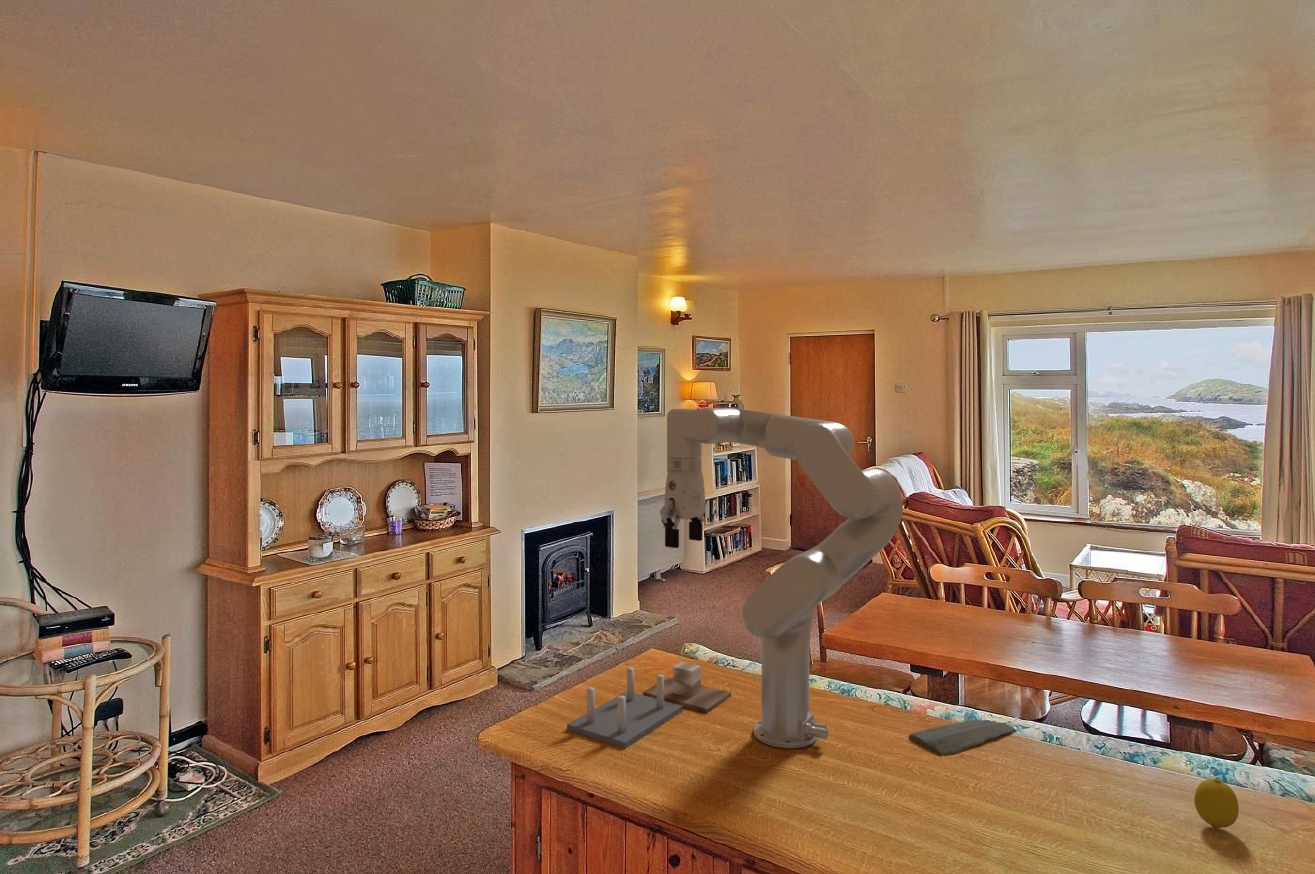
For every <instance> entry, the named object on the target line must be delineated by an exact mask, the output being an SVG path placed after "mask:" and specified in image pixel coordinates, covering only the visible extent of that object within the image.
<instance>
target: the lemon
mask: <svg viewBox="0 0 1315 874" xmlns="http://www.w3.org/2000/svg"><path fill="white" fill-rule="evenodd" d="M1193 799H1194V807H1195V809H1196V812H1197V814H1198V815H1199V817H1200V818H1201V819H1202V820H1203V821H1204V822H1205V823H1207V825H1210V826H1211V827H1212V828H1213V829H1215V830H1220V829H1221V828H1229V827H1231V826H1233V824H1235V823H1236V821H1237V819H1238V817H1239V812H1240V811H1239V810H1240V809H1239V808H1240V807H1239V802H1238V801H1239V800H1238V798H1237V795H1236V793H1235V790H1233V789H1232V788H1231V787H1230V786H1229V785H1228V784H1227V783H1225V782H1223V781H1221V779H1219V778H1213V779H1212V778H1210V779H1205V780H1203V781H1202V782H1200V783H1199V784H1198V785H1197V787H1196V790H1195V792H1194V797H1193Z"/></svg>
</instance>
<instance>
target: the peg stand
mask: <svg viewBox="0 0 1315 874" xmlns="http://www.w3.org/2000/svg"><path fill="white" fill-rule="evenodd" d="M664 680H665V675H664V674H657V675H656V684H657V699H655V698H651V697H648V696H644V695H643V694H640V693H636V692H635V668H634V667H627V668H626V691H625V692H623V693H621V694H620V695H617V696H616V697H614V698H612V699H610V700H608V701H607V702H605V703H602V704H601V705H599V706H597V707H595V706H596V705H595V704H596V702H595V700H596V699H595V690H596V689H595V687H593V686H591V687H587V688H586V713H584V714H583V715H581V716H578V718H576V719H574V720H572V721H569V722H568V723H567V724H566V730H567V731H569V732H572V733H576V734H579V735H582V736H585V737H589V738H592V739H594V740H597V741H599V742H600V741H601V742H604V743H607V744H610V745H613V746H617V747H619V748H623V749H627V748H628V747H630V746H632V745H633V744H635V743H636V742H637V741H640V740H641V739H643V738H644V737H645V736H647V735H648V734H650V733H652V732H653V731H655V730H656V729H658V728H659V727H661V726H662V725H664V724H665V723H667V722H668V721H670V720H671V719H673V718H674V717H673V716H675V715H676V714H678V713H679V712H681V713H682V712H683V711H684V710H683V708H684V707H683V706H682V705H678V704H674V703H670V702H667V701H664ZM679 714H680V713H679ZM679 714H678V715H679ZM676 716H677V715H676ZM676 716H675V717H676ZM672 717H673V718H672ZM670 718H671V719H670ZM669 719H670V720H669ZM667 720H668V721H667ZM666 721H667V722H666ZM663 723H664V724H663ZM655 728H656V729H655ZM654 729H655V730H654ZM651 731H652V732H651Z"/></svg>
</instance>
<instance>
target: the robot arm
mask: <svg viewBox="0 0 1315 874" xmlns="http://www.w3.org/2000/svg"><path fill="white" fill-rule="evenodd" d="M723 443H734V444H735V443H736V444H743V445H747V446H748V445H749V446H755V447H758V448H762V449H764V450H765V451H766V453H767V454H768V455H770V456H771V457H775V458H780V459H781V458H782V459H789V460H793V461H797V462H798V464H799V465H800V466H801V468H802V469H803V471H804V472H805V473H806V475H807V476H808V478H809V479H810V481H811V482H812V483H813V485H815V487H816V488H817V490H818V491H819V492H820V493H821V495H822V496H823V497H824V498H825V500H826V501H827V502H828V504H829V505H830V506H831V507H832V509H833V510H834V511H835V512H837V513H838V514H839V515H840V516H842V517H844V518H845V519H846V520H845V521H843V523H841V524H839V526H837V527H836V528H835V529H834V530H833V531H832V532H831V533H830V534H829V535H828V536H827V537H826V538H824V539H823V540H822V541H820V543H819V544H817V545H815V546H814V547H812V548H810V549H807V550H805V551H804V552H801V553H799V554H797V555H794V556H792V557H791V558H789V559H788V560H786V561H785V562H784V563H782V564H781V565H780V566H779V567H778V568H777V569H776V570H774V572H773V573H772V574H770V575H769V576H768V577H767V578H766V579H765V580H763V582H762V583H760V584H759V586H757V587H756V588H755V589H754V590H753V591H752V592H751V593H749V594H748V596H747V598H746V599H745V601H744V603H743V607H742V621H743V624H744V626H745V627H746V629H747V630H748V631H749V633H750V634H751V635H753V636H754V637H757V638H759V639H762V641H761V702H760V703H761V704H760V705H761V719H760V720H758V721H757V722H756V723H754V725H753V735H754V736H755V738H756V739H757V740H758V741H760V742H761V743H763V744H765V745H767V746H770V747H775V748H780V749H801V748H804V747H809V746H810V745H812V744H814V743H815V742H816V741H817V739H821V740H827V739H828V737H829V729H827V727H828V726H827V724H824V723H818V722H816V720H815V713H811V712H810V661H811V660H810V657H811V656H810V654H811V651H810V649H811V635H812V634H811V632H812V625H813V619H814V608H815V607H817V606H818V605H819V604H820V603H822V602H823V601H825V600H827V599H829V598H830V597H832V596H833V595H834V594H836V593H837V592H838V591H839V590H840V589H841V588H842V587H843V586H844V585H845V584H846V583H847V582H848V581H849V580H850V579H851V578H852V577H854V575H856V574H857V573H858V572H859V571H861V569H863V568H864V567H865V566H866V565H867V564H868V563H869V562H870V561H872V559H874V557H876V556H877V555H878V554H879V553H880V552H881V551H882V550H883V549H884V548H885V547H886V546H887V545H888V544H889V542H890V541H891V540H892V538H894V536H895V534H896V532H897V530H898V528H899V526H900V523H901V521H902V516H903V513H904V512H903V511H904V504H903V495H902V492H901V489H900V486H899V484H898V482H897V480H896V479H895V478H894V476H892V475H891V474H890V473H888V472H887V471H885V470H882V469H876V468H866V469H861V468H860V467H859V466H858V465H857V463H856V461H854V460H853V459H852V457H851V456H852V454H853V451H854V449H855V439H854V435H853V433H852V432H851V430H850V428H848V427H847V426H845V425H843V424H841V423H839V422H834V421H828V420H823V419H822V420H821V419H815V418H809V417H808V418H807V417H801V416H795V415H794V416H793V415H787V414H781V413H780V414H779V413H767V412H762V411H756V410H748V409H743V408H734V407H705V408H699V409H698V408H697V409H696V408H673V409H670V410H669V411H668V412H667V415H666V479H665V487H664V488H665V491H664V505H663V506H662V507H661V508H660V510H659V514H660V517H661V523H662V524H663V525H662V526H663V528H664V546H665V547H666V548H673V549H677V548H679V547H680V529H679V528H678V527H679V523H680V522H681V520H683V521H684V520H685V521H686V520H690V521H689V522H688V539H689V540H690V541H698V542H701V541H703V523H704V521H705V520H704V519H705V518H704V516H705V513H706V507H707V500H706V492H705V480H704V475H703V471H702V458H703V457H702V453H703V452H702V448H703V447H702V444H705V445H706V444H707V445H711V444H712V445H715V444H723ZM673 520H674V521H673Z"/></svg>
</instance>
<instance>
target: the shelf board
mask: <svg viewBox="0 0 1315 874" xmlns="http://www.w3.org/2000/svg"><path fill="white" fill-rule="evenodd" d="M642 695H644V696H648V697H652V698H655V699H657V683H656V684H654V685H652V686H651V687H649V688H647V689H646V690H644V691H643V692H642ZM729 697H730V698H732V692H731V691H728V690H724V689H720V688H719V689H718V688H714V687H711V686H706V685H703V684H702V666H701V665H699V664H693V663H689V662H685V661H681V662H679V663H678V664H676V665H674V666H673V667H672V677H670V676H669V677H667V678H664V701H667V702H670V703H674V704H678V705H682V706H683V708H685V707H687V708H686V709H688V708H690V709H689V710H692V709H694V710H693V711H696V712H700V713H704V712H705V713H704V714H709V713H710V712H711V711H713V710H715V709H716V708H717V707H718V705H719V706H720V705H721V704H723V703H724V702H726V701H727V700H728V699H727V698H729ZM730 698H729V699H730ZM726 699H727V700H726ZM725 700H726V701H725ZM708 712H709V713H708Z"/></svg>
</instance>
